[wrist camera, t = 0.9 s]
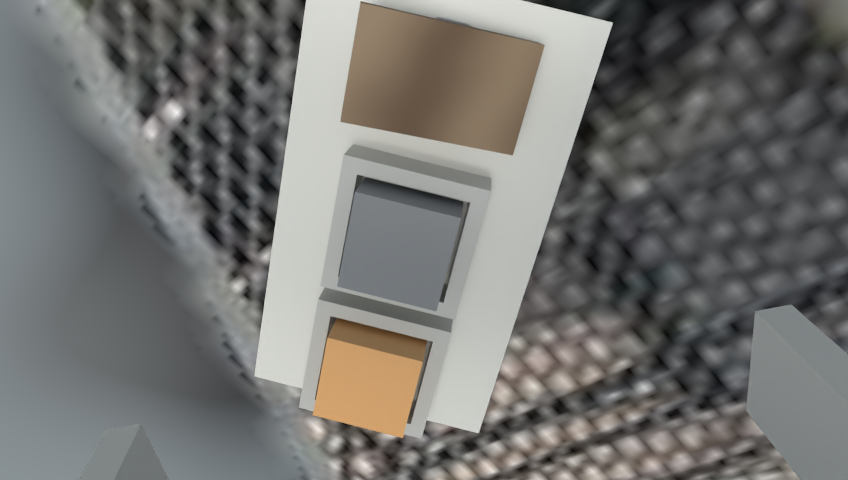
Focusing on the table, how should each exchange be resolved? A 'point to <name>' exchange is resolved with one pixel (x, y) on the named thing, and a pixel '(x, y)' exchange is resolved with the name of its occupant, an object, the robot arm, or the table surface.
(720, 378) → the table surface
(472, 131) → the walnut rocker
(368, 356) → the orange button
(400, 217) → the charcoal button
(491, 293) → the switch housing
